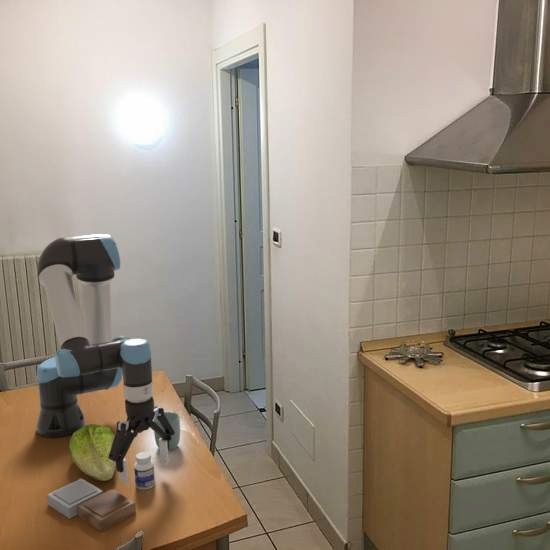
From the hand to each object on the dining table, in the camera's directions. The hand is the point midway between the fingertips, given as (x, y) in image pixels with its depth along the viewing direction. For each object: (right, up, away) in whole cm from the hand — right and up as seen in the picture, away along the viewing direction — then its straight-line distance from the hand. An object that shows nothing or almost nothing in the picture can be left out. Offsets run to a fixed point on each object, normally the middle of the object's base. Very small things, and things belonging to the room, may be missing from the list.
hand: (144, 471), depth 171 cm
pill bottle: (0, -4, +1) cm, 4 cm away
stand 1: (-16, -6, -7) cm, 19 cm away
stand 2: (-7, -7, -13) cm, 16 cm away
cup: (+3, 0, +22) cm, 22 cm away
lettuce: (-16, -3, +11) cm, 19 cm away
